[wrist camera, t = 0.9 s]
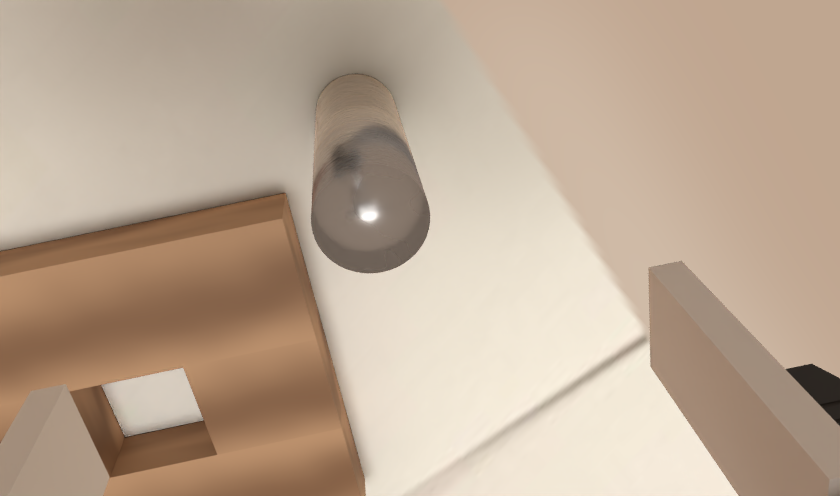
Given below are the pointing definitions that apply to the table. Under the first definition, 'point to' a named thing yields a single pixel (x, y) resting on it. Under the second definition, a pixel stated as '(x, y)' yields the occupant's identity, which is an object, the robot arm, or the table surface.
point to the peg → (365, 179)
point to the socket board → (186, 351)
